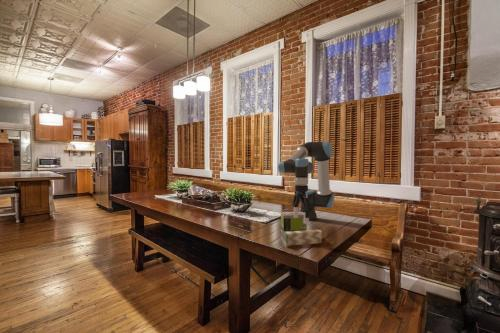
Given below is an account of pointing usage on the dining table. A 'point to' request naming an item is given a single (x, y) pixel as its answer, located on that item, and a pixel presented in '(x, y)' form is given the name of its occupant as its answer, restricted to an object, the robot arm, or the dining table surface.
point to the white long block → (301, 237)
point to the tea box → (292, 222)
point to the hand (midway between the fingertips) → (300, 220)
